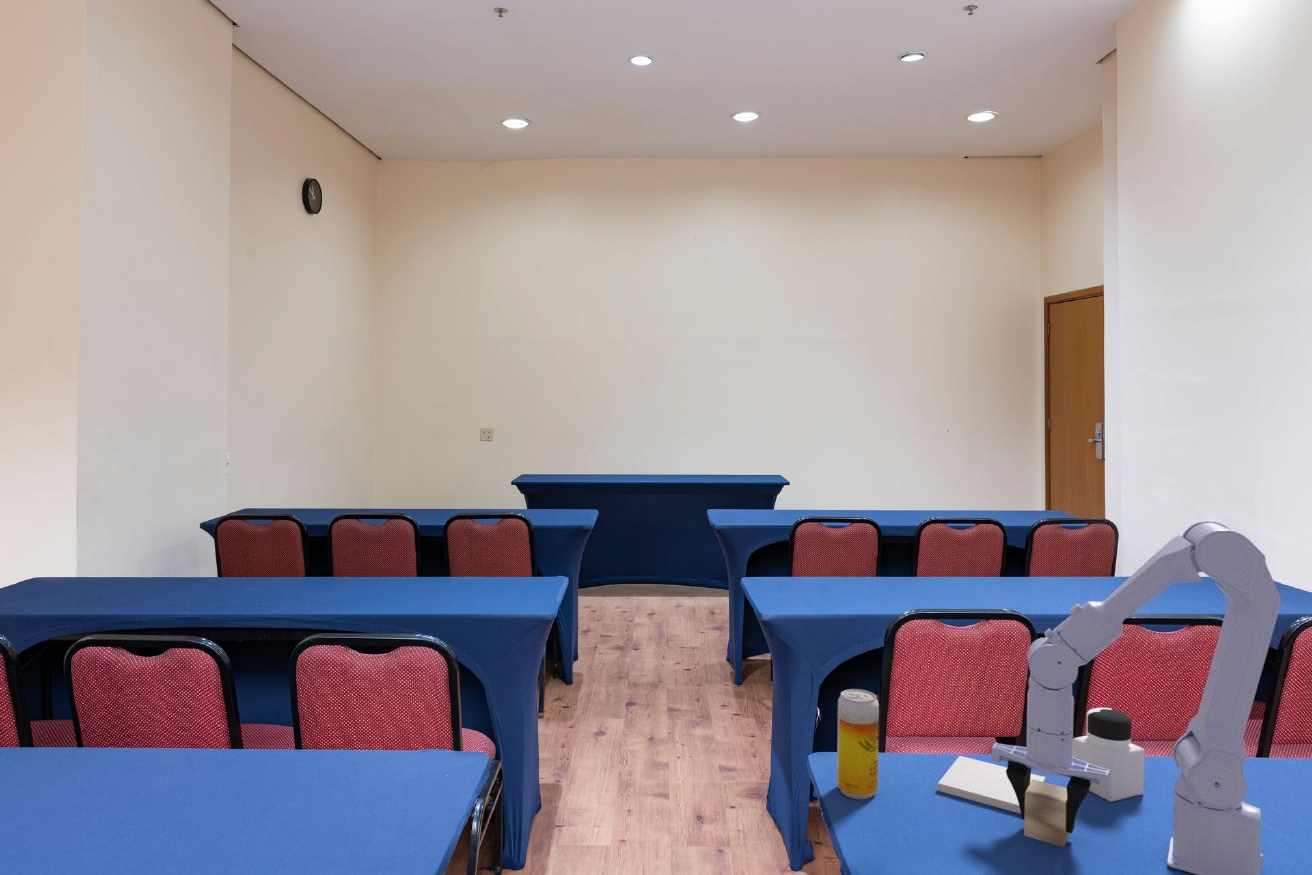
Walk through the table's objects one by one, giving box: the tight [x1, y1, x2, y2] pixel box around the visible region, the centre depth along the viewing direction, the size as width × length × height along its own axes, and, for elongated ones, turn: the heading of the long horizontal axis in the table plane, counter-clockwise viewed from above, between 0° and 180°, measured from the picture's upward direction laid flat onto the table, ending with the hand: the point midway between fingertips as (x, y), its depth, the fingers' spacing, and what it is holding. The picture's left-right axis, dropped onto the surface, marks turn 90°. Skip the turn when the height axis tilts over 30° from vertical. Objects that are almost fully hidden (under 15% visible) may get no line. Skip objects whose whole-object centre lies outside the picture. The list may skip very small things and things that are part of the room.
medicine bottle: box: [1072, 707, 1146, 802], centre depth 124 cm, size 7×7×12 cm
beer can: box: [836, 688, 880, 800], centre depth 123 cm, size 6×6×15 cm
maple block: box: [1023, 779, 1071, 848], centre depth 111 cm, size 5×5×6 cm
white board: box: [937, 755, 1046, 815], centre depth 124 cm, size 13×12×1 cm
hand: (1047, 823), depth 111 cm, fingers closed on maple block, 5 cm apart
